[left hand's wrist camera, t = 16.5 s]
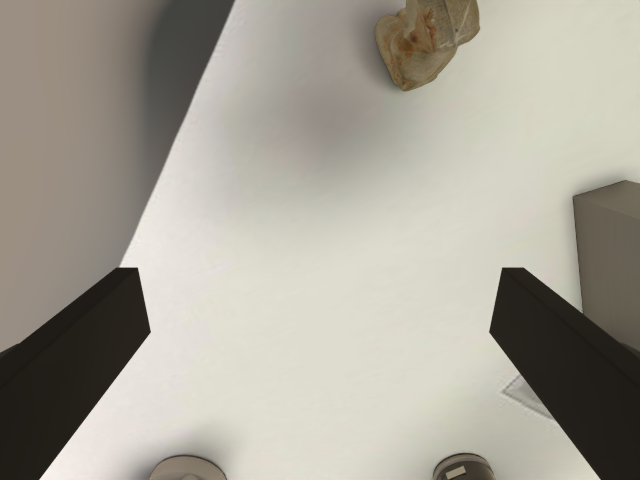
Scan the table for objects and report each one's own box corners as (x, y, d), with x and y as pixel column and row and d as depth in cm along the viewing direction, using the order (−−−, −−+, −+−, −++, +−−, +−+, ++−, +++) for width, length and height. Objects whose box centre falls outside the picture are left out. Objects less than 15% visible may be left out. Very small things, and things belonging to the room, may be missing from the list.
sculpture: (420, 3, 35) (490, -69, 20) (437, 79, 37) (509, 61, 23) (364, 26, 35) (394, -28, 21) (384, 99, 38) (422, 93, 24)
